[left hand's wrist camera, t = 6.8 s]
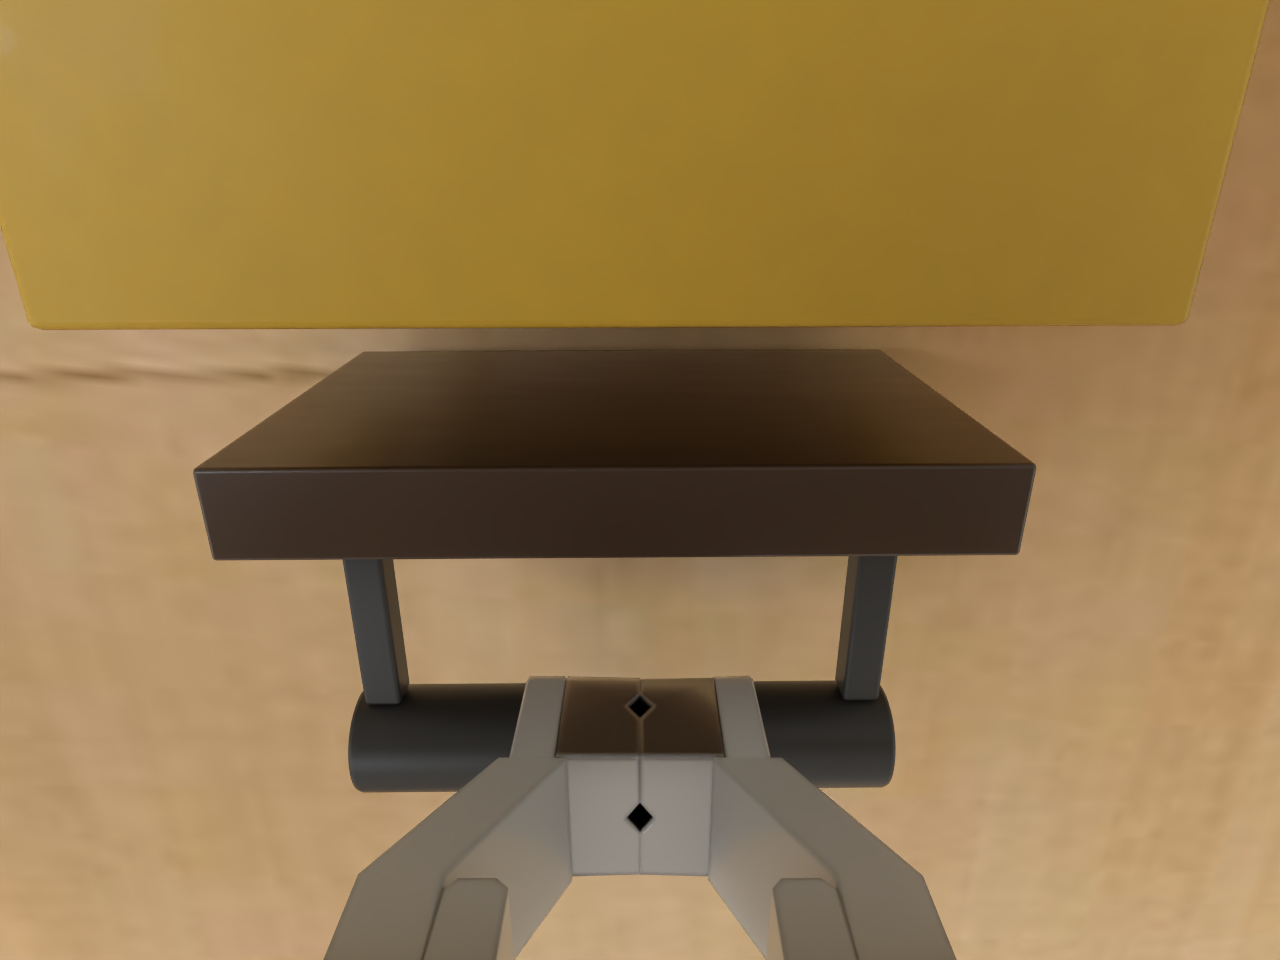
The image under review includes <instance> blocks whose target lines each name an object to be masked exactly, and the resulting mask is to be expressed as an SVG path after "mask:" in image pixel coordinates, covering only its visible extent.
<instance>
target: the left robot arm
mask: <svg viewBox="0 0 1280 960" xmlns="http://www.w3.org/2000/svg"><path fill="white" fill-rule="evenodd" d="M632 874H646V875H681V876H708V880H709V882H710V883H711V884H712V886H713V887H714V889H715V890H716V891H717V893H718V894H719V895H720V897H721V898H722V900H723V901H724V902H725V904H726V905H727V907H728V908H729V909H730V911H731V912H732V914H733V915H734V916H735V918H736V919H737V920H738V922H739V923H740V925H741V926H742V927H743V929H744V930H745V932H746V933H747V934H748V936H749V937H750V938H751V940H752V941H753V943H754V944H755V945H756V947H757V948H758V950H759V951H760V952H761V954H762V955H763V956H764V958H765V959H766V960H956V957H955V955H954V952H953V950H952V947H951V945H950V942H949V940H948V937H947V935H946V932H945V930H944V928H943V925H942V923H941V920H940V918H939V915H938V913H937V910H936V908H935V905H934V903H933V900H932V898H931V895H930V893H929V890H928V888H927V885H926V883H925V880H924V878H923V876H922V875H921V874H920V873H919V872H918V871H916V870H915V869H914V868H913V867H912V866H911V865H909V864H908V863H907V862H906V861H905V860H903V859H902V858H901V857H900V856H899V855H897V854H896V853H895V852H894V851H893V850H891V849H890V848H889V847H888V846H887V845H885V844H884V843H883V842H882V841H881V840H879V839H878V838H877V837H876V836H875V835H873V834H872V833H871V832H870V831H869V830H868V829H866V828H865V827H864V826H863V825H862V824H860V823H859V822H858V821H857V820H856V819H854V818H853V817H852V816H851V815H850V814H848V813H847V812H846V811H845V810H844V809H842V808H841V807H840V806H839V805H838V804H836V803H835V802H834V801H833V800H832V799H830V798H829V797H828V796H827V795H826V794H825V793H823V792H822V791H821V790H820V789H819V788H817V787H816V786H815V785H814V784H813V783H811V782H810V781H809V780H808V779H807V778H805V777H804V776H803V775H802V774H801V773H799V772H798V771H797V770H796V769H795V768H793V767H792V766H791V765H790V764H789V763H788V762H786V761H785V760H784V759H783V758H771V757H770V753H769V748H768V744H767V739H766V735H765V730H764V726H763V722H762V717H761V713H760V708H759V704H758V700H757V695H756V691H755V686H754V682H753V679H752V678H751V677H750V676H728V677H713V678H667V679H640V678H618V677H571V676H568V678H566V677H565V676H530V678H529V679H528V681H527V682H526V686H525V690H524V695H523V699H522V703H521V708H520V712H519V717H518V721H517V726H516V730H515V735H514V739H513V744H512V748H511V752H510V757H509V758H497V759H496V760H495V761H494V762H493V763H491V764H490V765H489V766H488V767H487V768H485V769H484V770H483V771H482V772H481V773H479V774H478V775H477V776H476V777H475V778H473V779H472V780H471V781H470V782H469V783H467V784H466V785H465V786H464V787H463V788H461V789H460V790H459V791H458V792H457V793H455V794H454V795H453V796H452V797H451V798H449V799H448V800H447V801H446V802H445V803H443V804H442V805H441V806H440V807H439V808H437V809H436V810H435V811H434V812H433V813H431V814H430V815H429V816H428V817H427V818H425V819H424V820H423V821H422V822H421V823H419V824H418V825H417V826H416V827H415V828H413V829H412V830H411V831H410V832H409V833H407V834H406V835H405V836H404V837H403V838H401V839H400V840H399V841H398V842H397V843H395V844H394V845H393V846H392V847H391V848H389V849H388V850H387V851H386V852H385V853H383V854H382V855H381V856H380V857H379V858H377V859H376V860H375V861H374V862H373V863H371V864H370V865H369V866H368V867H367V868H365V869H364V870H363V871H362V872H361V873H359V874H358V876H357V879H356V881H355V884H354V886H353V888H352V891H351V893H350V896H349V898H348V901H347V903H346V906H345V908H344V911H343V913H342V916H341V918H340V920H339V923H338V925H337V928H336V930H335V933H334V935H333V938H332V940H331V943H330V945H329V947H328V950H327V952H326V955H325V957H324V960H515V958H516V957H517V956H518V954H519V953H520V951H521V950H522V949H523V947H524V946H525V945H526V943H527V942H528V940H529V939H530V938H531V936H532V935H533V934H534V932H535V931H536V929H537V928H538V927H539V925H540V924H541V923H542V921H543V920H544V918H545V917H546V916H547V914H548V913H549V911H550V910H551V909H552V907H553V906H554V905H555V903H556V902H557V900H558V899H559V898H560V896H561V895H562V894H563V892H564V891H565V889H566V888H567V887H568V885H569V884H570V883H571V881H572V876H598V875H632Z"/></svg>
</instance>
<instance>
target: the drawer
mask: <svg viewBox="0 0 1280 960" xmlns="http://www.w3.org/2000/svg"><path fill="white" fill-rule="evenodd" d="M1035 471H1036V465H1035V464H1034V463H1033V462H1032V461H1030V460H1029V459H1027V458H1026V457H1025V456H1023V455H1022V454H1021V453H1019V452H1018V451H1017V450H1015V449H1014V448H1013V447H1011V446H1010V445H1008V444H1007V443H1006V442H1004V441H1003V440H1002V439H1000V438H999V437H998V436H996V435H995V434H993V433H992V432H991V431H989V430H988V429H987V428H985V427H984V426H983V425H981V424H980V423H979V422H977V421H976V420H974V419H973V418H972V417H970V416H969V415H968V414H966V413H965V412H964V411H962V410H961V409H959V408H958V407H957V406H955V405H954V404H953V403H951V402H950V401H949V400H947V399H946V398H944V397H943V396H942V395H940V394H939V393H938V392H936V391H935V390H934V389H932V388H931V387H930V386H928V385H927V384H925V383H924V382H923V381H921V380H920V379H919V378H917V377H916V376H915V375H913V374H912V373H910V372H909V371H908V370H906V369H905V368H904V367H902V366H901V365H900V364H898V363H897V362H896V361H894V360H893V359H891V358H890V357H889V356H887V355H886V354H885V353H883V352H882V351H881V350H663V351H426V352H362V353H361V354H359V355H358V356H356V357H355V358H353V359H352V360H351V361H349V362H348V363H346V364H345V365H343V366H342V367H340V368H339V369H338V370H336V371H335V372H333V373H332V374H330V375H329V376H327V377H326V378H325V379H323V380H322V381H320V382H319V383H317V384H316V385H315V386H313V387H312V388H310V389H309V390H307V391H306V392H304V393H303V394H302V395H300V396H299V397H297V398H296V399H294V400H293V401H291V402H290V403H289V404H287V405H286V406H284V407H283V408H281V409H280V410H278V411H277V412H276V413H274V414H273V415H271V416H270V417H268V418H267V419H265V420H264V421H263V422H261V423H260V424H258V425H257V426H255V427H254V428H253V429H251V430H250V431H248V432H247V433H245V434H244V435H242V436H241V437H240V438H238V439H237V440H235V441H234V442H232V443H231V444H229V445H228V446H227V447H225V448H224V449H222V450H221V451H219V452H218V453H216V454H215V455H214V456H212V457H211V458H209V459H208V460H206V461H205V462H204V463H202V464H201V465H199V466H198V467H196V468H195V469H194V472H193V474H194V479H195V483H196V487H197V492H198V496H199V500H200V505H201V509H202V513H203V518H204V522H205V527H206V531H207V535H208V540H209V544H210V548H211V553H212V557H213V559H214V560H331V559H343V564H344V571H345V577H346V583H347V589H348V595H349V602H350V608H351V614H352V620H353V627H354V633H355V639H356V645H357V652H358V658H359V664H360V670H361V677H362V683H363V689H364V691H363V692H362V693H361V695H360V697H359V699H358V702H357V704H356V707H355V710H354V714H353V717H352V722H351V727H350V734H349V745H348V760H349V770H350V776H351V780H352V783H353V785H354V787H355V788H356V789H357V790H359V791H361V792H453V791H459V790H460V789H461V788H463V787H464V786H465V785H466V784H467V783H469V782H470V781H471V780H472V779H473V778H475V777H476V776H477V775H478V774H479V773H481V772H482V771H483V770H484V769H485V768H487V767H488V766H489V765H490V764H491V763H493V762H494V761H495V760H496V759H497V758H509V757H510V752H511V748H512V744H513V739H514V735H515V730H516V726H517V721H518V717H519V712H520V708H521V703H522V699H523V695H524V690H525V686H526V683H505V684H409V676H408V669H407V661H406V654H405V646H404V639H403V632H402V624H401V617H400V609H399V602H398V594H397V587H396V579H395V572H394V564H393V559H477V558H622V557H767V556H849V559H848V568H847V577H846V586H845V595H844V604H843V614H842V623H841V632H840V641H839V650H838V659H837V669H836V678H835V680H836V681H753V682H754V686H755V691H756V695H757V700H758V704H759V708H760V713H761V717H762V722H763V726H764V730H765V735H766V739H767V744H768V748H769V753H770V757H771V758H783V759H784V760H785V761H786V762H788V763H789V764H790V765H791V766H792V767H793V768H795V769H796V770H797V771H798V772H799V773H801V774H802V775H803V776H804V777H805V778H807V779H808V780H809V781H810V782H811V783H813V784H814V785H815V786H816V787H817V788H857V787H884V786H886V785H887V784H889V782H890V780H891V778H892V775H893V770H894V764H895V732H894V725H893V719H892V714H891V710H890V706H889V703H888V700H887V697H886V695H885V693H884V691H883V689H882V687H881V686H880V680H881V673H882V665H883V658H884V651H885V643H886V636H887V628H888V621H889V614H890V606H891V599H892V591H893V584H894V576H895V569H896V562H897V556H912V555H1016V554H1018V553H1019V551H1020V546H1021V541H1022V536H1023V531H1024V526H1025V521H1026V516H1027V511H1028V506H1029V501H1030V496H1031V491H1032V486H1033V481H1034V476H1035Z"/></svg>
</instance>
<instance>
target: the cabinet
mask: <svg viewBox="0 0 1280 960" xmlns="http://www.w3.org/2000/svg"><path fill="white" fill-rule="evenodd" d="M1268 4H1269V0H0V225H1V229H2V232H3V235H4V239H5V242H6V246H7V249H8V253H9V256H10V260H11V263H12V266H13V270H14V273H15V277H16V280H17V284H18V287H19V290H20V294H21V297H22V301H23V304H24V308H25V311H26V315H27V318H28V321H29V323H30V324H31V325H32V327H35V328H39V329H43V330H108V329H363V328H619V327H875V326H1130V325H1177V324H1180V323H1183V322H1185V321H1186V319H1187V318H1188V315H1189V312H1190V308H1191V304H1192V300H1193V296H1194V292H1195V288H1196V284H1197V280H1198V277H1199V273H1200V269H1201V265H1202V261H1203V257H1204V253H1205V249H1206V245H1207V242H1208V238H1209V234H1210V230H1211V226H1212V222H1213V218H1214V214H1215V210H1216V207H1217V203H1218V199H1219V195H1220V191H1221V187H1222V183H1223V179H1224V175H1225V171H1226V168H1227V164H1228V160H1229V156H1230V152H1231V148H1232V144H1233V140H1234V136H1235V133H1236V129H1237V125H1238V121H1239V117H1240V113H1241V109H1242V105H1243V101H1244V98H1245V94H1246V90H1247V86H1248V82H1249V78H1250V74H1251V70H1252V66H1253V62H1254V59H1255V55H1256V51H1257V47H1258V43H1259V39H1260V35H1261V31H1262V27H1263V24H1264V20H1265V16H1266V12H1267V8H1268Z"/></svg>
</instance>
